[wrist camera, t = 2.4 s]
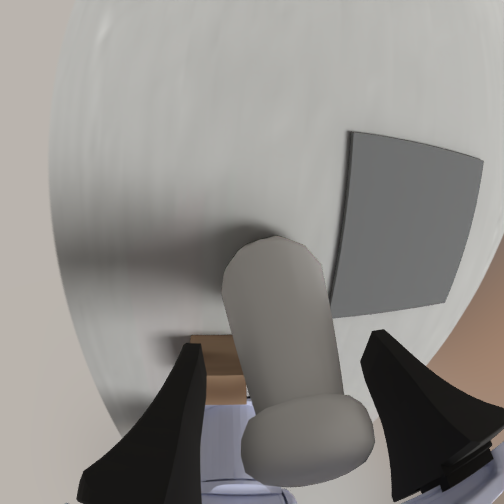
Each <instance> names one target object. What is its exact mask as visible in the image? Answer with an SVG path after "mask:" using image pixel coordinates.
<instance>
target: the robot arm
mask: <svg viewBox="0 0 504 504" xmlns="http://www.w3.org/2000/svg"><path fill="white" fill-rule="evenodd" d="M360 363H361V367H362V371H363V374H364V378H365V382H366V384H367V387H368V389H369V392H370V394H371V397H372V399H373V402H374V404H375V407H376V409H377V412H378V414H379V417H380V419H381V423H382V426H383V429H384V434H385V438H386V442H387V448H388V453H389V459H390V468H391V482H392V498H393V501H394V502H396V501H399V500H401V499H404V498H406V497H408V496H411V495H413V494H415V493H417V492H419V491H421V493H422V494H421V495H419V496H417V497H415V498H413V499H411V500H408V501H406V502H404V503H401V504H491V503H492V502H493V501H494V500H495V499H496V498H497V497H498V496H499V495H500V494H501V493H502V492H503V491H504V442H502V443H501V444H500V445H499V446H497V447H496V448H495V449H494V450H492V451H490V449H489V448H490V447H491V446H492V443H491V441H490V440H491V439H492V438H494V437H495V436H496V435H497V434H498V433H499V432H501V431H502V430H503V429H504V408H502V407H499V406H495V405H492V404H489V403H486V402H483V401H481V400H479V399H476V398H474V397H472V396H470V395H468V394H466V393H464V392H463V391H461V390H459V389H457V388H456V387H454V386H452V385H450V384H449V383H448V382H446V381H444V380H443V379H442V378H440V377H439V376H437V375H436V374H435V373H434V372H432V371H431V370H429V368H427V367H426V366H425V365H424V364H423V363H421V362H420V361H419V360H418V359H417V358H416V357H414V356H413V355H412V354H411V353H410V352H409V351H408V350H407V349H405V348H404V347H403V346H402V345H401V344H400V343H399V342H398V341H397V340H396V339H394V338H393V337H392V336H391V335H390V334H389V333H388V332H386V331H385V330H384V329H382V330H376V331H372V333H371V335H370V338H369V341H368V343H367V346H366V348H365V351H364V353H363V356H362V358H361V361H360ZM206 389H207V372H206V367H205V362H204V357H203V352H202V346H201V343H186V344H184V345H183V348H182V350H181V352H180V355H179V357H178V359H177V361H176V363H175V365H174V367H173V369H172V371H171V372H170V374H169V376H168V378H167V379H166V381H165V383H164V385H163V386H162V388H161V390H160V391H159V393H158V394H157V396H156V397H155V399H154V400H153V402H152V403H151V405H150V406H149V407H148V409H147V410H146V412H145V413H144V414H143V415H142V417H141V418H140V419H139V421H138V422H137V423H136V424H135V425H134V426H133V427H132V429H131V430H130V431H129V432H128V433H127V434H126V435H125V436H124V437H123V438H122V439H121V440H120V442H118V443H117V444H116V445H115V446H114V447H113V448H112V449H111V450H110V451H109V452H108V453H106V454H105V455H104V456H103V457H102V458H101V459H99V460H98V461H96V462H95V463H94V464H92V465H91V466H90V467H89V468H87V469H86V470H84V471H83V474H82V477H81V479H80V483H79V488H78V493H77V501H78V502H80V503H83V504H297V501H296V499H295V497H294V495H293V494H291V493H290V492H289V491H288V490H287V489H281V487H276V486H268V485H263V484H261V483H260V482H258V481H257V480H255V479H254V478H252V477H251V476H249V475H248V474H247V473H245V470H244V466H243V463H242V459H241V439H242V436H243V433H244V430H245V428H246V426H247V423H248V421H249V419H251V418H252V417H254V416H255V415H256V414H255V411H254V408H253V405H252V401H251V398H250V399H247V404H246V405H205V403H206ZM65 504H68V503H65Z"/></svg>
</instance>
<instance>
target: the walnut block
mask: <svg viewBox="0 0 504 504" xmlns="http://www.w3.org/2000/svg"><path fill="white" fill-rule="evenodd" d="M190 343H201V346H202V352H203V357H204V362H205V367H206V372H207V389H206V403H205V405H246V404H247V396H246V381H245V378H244V375H243V371H242V368H241V364H240V361H239V357H238V354H237V350H236V347H235V343H234V339H233V336H232V335H191V339H190Z"/></svg>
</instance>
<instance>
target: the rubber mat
mask: <svg viewBox="0 0 504 504" xmlns="http://www.w3.org/2000/svg"><path fill="white" fill-rule="evenodd" d="M483 162H484V161H483V160H480V159H477V158H474V157H470V156H467V155H464V154H460V153H457V152H453V151H449V150H446V149H442V148H438V147H434V146H429V145H425V144H421V143H416V142H411V141H406V140H401V139H396V138H390V137H384V136H378V135H372V134H365V133H358V132H351V141H350V155H349V168H348V179H347V189H346V198H345V207H344V215H343V223H342V230H341V237H340V244H339V250H338V257H337V263H336V269H335V274H334V280H333V285H332V290H331V296H330V301H329V304H330V309H331V314H332V318H341V317H350V316H359V315H368V314H376V313H383V312H390V311H397V310H404V309H410V308H417V307H423V306H429V305H434V304H440V303H445V301H446V299H447V296H448V294H449V291H450V289H451V286H452V284H453V281H454V278H455V276H456V273H457V270H458V267H459V264H460V261H461V258H462V255H463V252H464V249H465V246H466V242H467V239H468V235H469V232H470V228H471V224H472V220H473V216H474V212H475V208H476V203H477V198H478V193H479V188H480V182H481V176H482V170H483Z"/></svg>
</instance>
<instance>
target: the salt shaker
mask: <svg viewBox="0 0 504 504" xmlns="http://www.w3.org/2000/svg"><path fill="white" fill-rule="evenodd" d="M221 294H222V298H223V302H224V306H225V310H226V314H227V317H228V321H229V325H230V328H231V332H232V336H233V339H234V343H235V347H236V350H237V354H238V357H239V361H240V364H241V368H242V371H243V375H244V378H245V381H246V385H247V388H248V391H249V395H250V398H251V401H252V405H253V408H254V411H255V414H256V415H255V416H254V417H252V418H251V419H249V421H248V423H247V426H246V428H245V430H244V433H243V436H242V439H241V459H242V463H243V466H244V470H245V473H247V474H248V475H249V476H251V477H252V478H254V479H255V480H257V481H258V482H260V483H261V484H263V485H268V486H276V487H301V486H308V485H313V484H318V483H322V482H326V481H329V480H333V479H336V478H338V477H340V476H343V475H345V474H347V473H349V472H351V471H352V470H354V469H356V468H357V467H359V466H360V465H362V464H363V463H364V462H366V460H367V459H368V457H369V455H370V453H371V452H372V450H373V447H374V443H375V438H374V430H373V424H372V421H371V419H370V416H369V414H368V412H367V409H366V408H365V407H364V406H363V405H362V403H361V402H359V401H358V400H356V399H354V398H353V397H351V396H349V395H344V391H343V383H342V376H341V369H340V362H339V356H338V349H337V343H336V337H335V331H334V325H333V320H332V314H331V309H330V304H329V299H328V293H327V288H326V284H325V279H324V274H323V269H322V265H321V263H320V262H319V261H318V260H317V259H316V257H315V256H314V255H313V254H312V253H311V252H310V251H309V250H308V248H307V247H306V246H305V245H303V244H300V243H297V242H295V241H292V240H289V239H286V238H284V237H280V236H273V237H269V238H266V239H260V240H258V241H255V242H252V243H248V244H246V245H245V246H244V247H242V248H241V249H240V250H238V252H237V253H236V254H235V256H234V257H233V259H232V260H231V261H230V263H229V264H228V266H227V267H226V269H225V272H224V277H223V283H222V290H221Z"/></svg>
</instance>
